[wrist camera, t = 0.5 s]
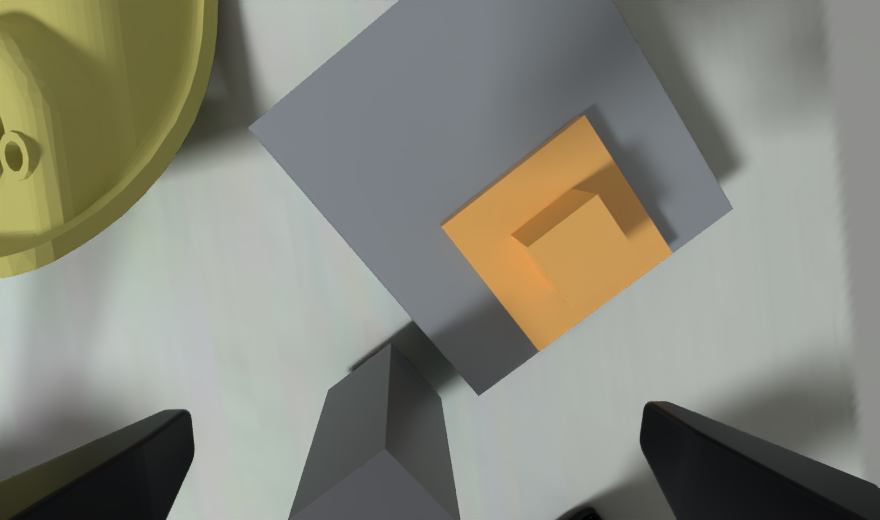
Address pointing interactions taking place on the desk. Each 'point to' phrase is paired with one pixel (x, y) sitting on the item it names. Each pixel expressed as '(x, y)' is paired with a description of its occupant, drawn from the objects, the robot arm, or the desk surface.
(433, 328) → the socket board
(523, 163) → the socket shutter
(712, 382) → the desk surface
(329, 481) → the grey box
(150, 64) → the plastic component
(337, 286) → the desk surface
